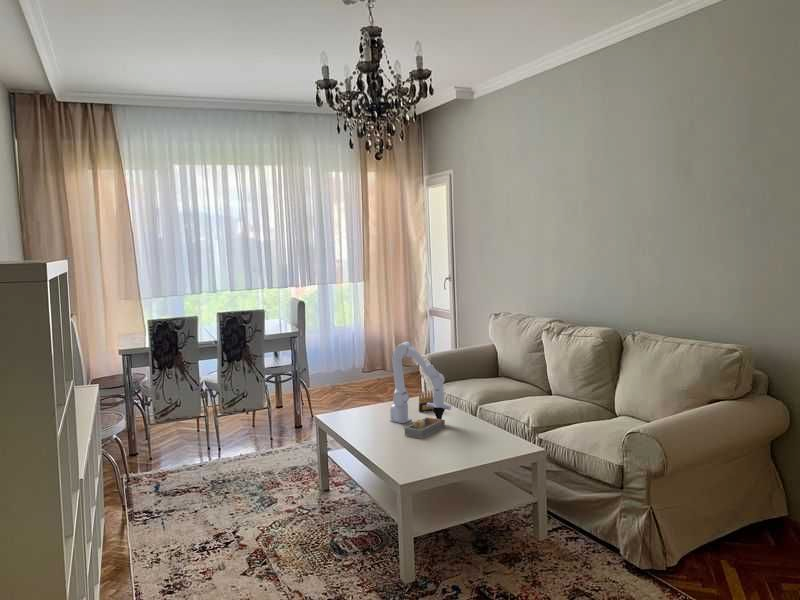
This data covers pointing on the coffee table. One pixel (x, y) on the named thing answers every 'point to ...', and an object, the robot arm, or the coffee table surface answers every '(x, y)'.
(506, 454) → the coffee table surface
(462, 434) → the coffee table surface
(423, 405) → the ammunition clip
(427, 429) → the tray
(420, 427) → the block
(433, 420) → the end cap
